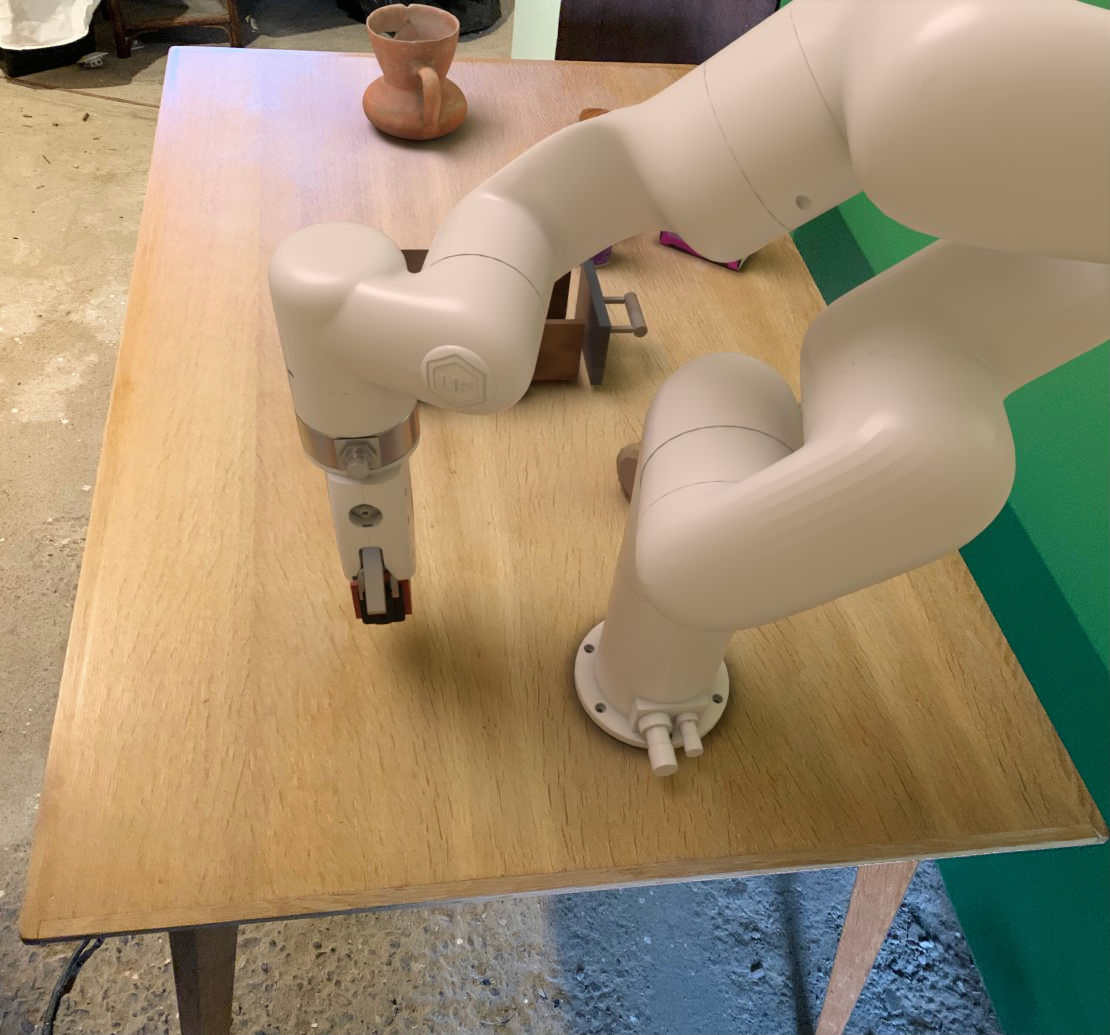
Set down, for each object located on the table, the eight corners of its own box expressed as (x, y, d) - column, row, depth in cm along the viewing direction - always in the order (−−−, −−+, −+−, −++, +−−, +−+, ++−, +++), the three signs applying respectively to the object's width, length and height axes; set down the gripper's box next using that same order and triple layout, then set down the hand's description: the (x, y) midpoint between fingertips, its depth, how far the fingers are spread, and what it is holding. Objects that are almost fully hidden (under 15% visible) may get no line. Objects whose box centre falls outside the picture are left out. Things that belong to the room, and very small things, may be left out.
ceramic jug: (354, 100, 138) (347, -4, 127) (451, 95, 142) (452, -7, 131) (377, 163, 127) (371, 55, 116) (481, 156, 131) (485, 50, 120)
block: (412, 614, 72) (408, 581, 69) (356, 619, 72) (350, 585, 68) (410, 571, 75) (406, 537, 72) (356, 575, 74) (350, 541, 71)
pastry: (566, 125, 139) (569, 99, 136) (603, 117, 141) (607, 91, 139) (603, 155, 134) (606, 129, 131) (641, 146, 137) (645, 120, 134)
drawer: (625, 318, 108) (636, 259, 102) (645, 384, 101) (658, 325, 95) (465, 320, 105) (466, 259, 99) (473, 388, 98) (475, 327, 92)
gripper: (425, 514, 54) (438, 682, 68) (413, 332, 65) (427, 509, 79) (292, 523, 53) (332, 692, 67) (302, 337, 64) (335, 516, 78)
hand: (383, 592), depth 73 cm, fingers closed on block, 4 cm apart
